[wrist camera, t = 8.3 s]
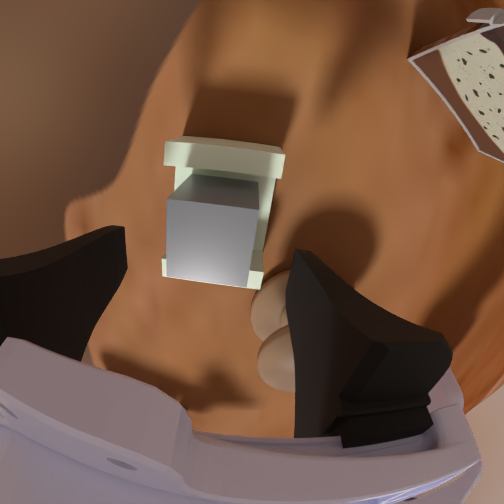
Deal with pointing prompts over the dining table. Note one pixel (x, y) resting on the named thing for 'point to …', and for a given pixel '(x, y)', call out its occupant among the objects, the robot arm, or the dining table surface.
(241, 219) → the gray metal block
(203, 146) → the pale green flanged block
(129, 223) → the dining table surface
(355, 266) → the dining table surface
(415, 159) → the dining table surface
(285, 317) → the tan rounded lump
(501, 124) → the food container
